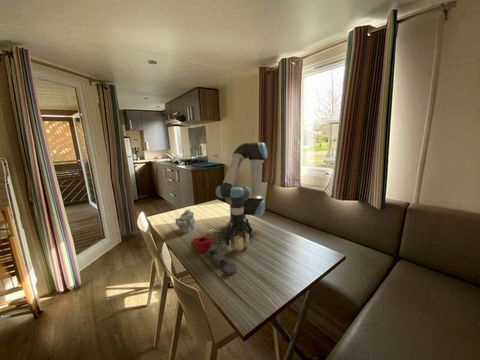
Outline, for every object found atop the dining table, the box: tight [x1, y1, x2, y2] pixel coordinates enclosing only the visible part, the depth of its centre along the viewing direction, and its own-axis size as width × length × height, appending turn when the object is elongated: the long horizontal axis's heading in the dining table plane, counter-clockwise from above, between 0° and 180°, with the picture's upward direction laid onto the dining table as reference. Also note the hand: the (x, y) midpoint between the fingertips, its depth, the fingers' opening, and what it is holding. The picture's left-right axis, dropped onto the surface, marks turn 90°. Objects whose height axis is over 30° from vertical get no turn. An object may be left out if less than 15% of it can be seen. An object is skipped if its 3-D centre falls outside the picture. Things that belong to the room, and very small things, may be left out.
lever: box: [192, 235, 212, 254], centre depth 130 cm, size 18×9×7 cm, turn 37°
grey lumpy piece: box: [174, 208, 196, 235], centre depth 151 cm, size 15×14×17 cm
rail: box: [206, 246, 237, 276], centre depth 112 cm, size 24×5×4 cm, turn 35°
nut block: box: [233, 235, 245, 253], centre depth 125 cm, size 4×4×8 cm
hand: (238, 246), depth 125 cm, fingers open, 13 cm apart
